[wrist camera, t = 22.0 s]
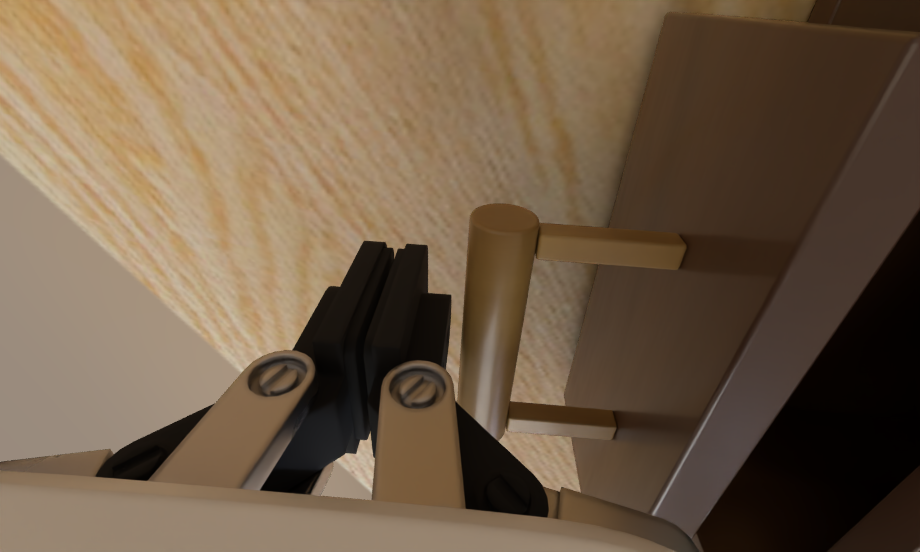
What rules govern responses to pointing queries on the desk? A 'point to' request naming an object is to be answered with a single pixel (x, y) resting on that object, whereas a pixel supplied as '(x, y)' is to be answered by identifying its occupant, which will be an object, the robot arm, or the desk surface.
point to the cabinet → (916, 498)
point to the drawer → (734, 290)
